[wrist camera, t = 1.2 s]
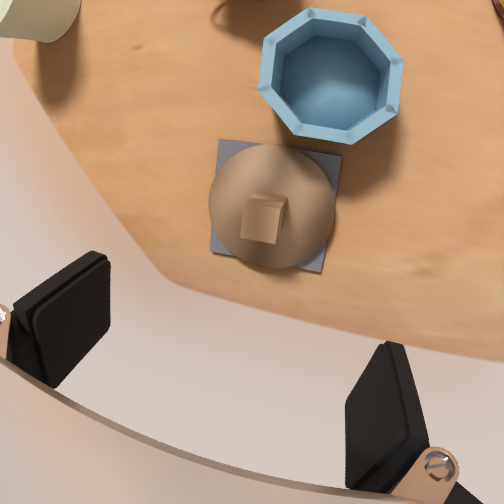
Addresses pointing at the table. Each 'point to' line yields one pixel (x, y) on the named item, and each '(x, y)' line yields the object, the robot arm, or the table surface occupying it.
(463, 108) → the table surface
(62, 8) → the can
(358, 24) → the bowl
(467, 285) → the table surface
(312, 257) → the mat
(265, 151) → the lid
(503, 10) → the sauce bottle
